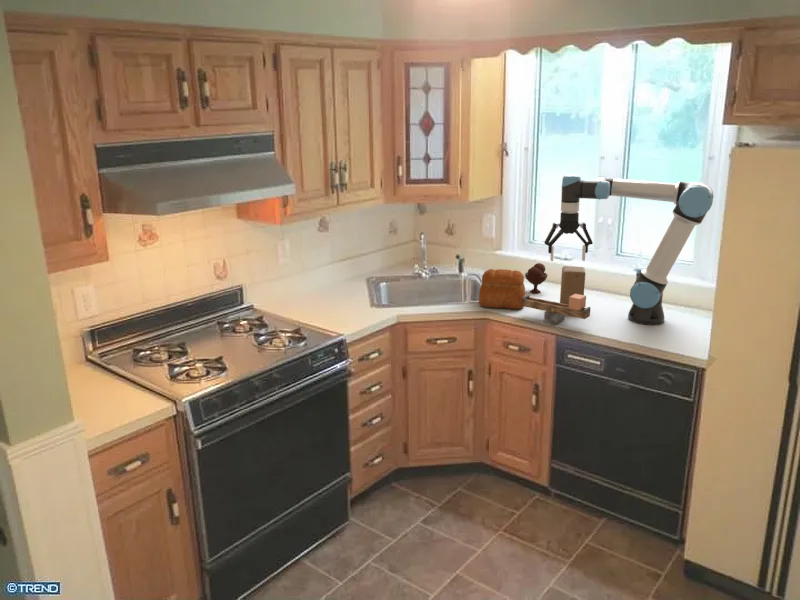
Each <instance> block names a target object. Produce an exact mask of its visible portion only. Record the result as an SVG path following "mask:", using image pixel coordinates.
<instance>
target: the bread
mask: <svg viewBox="0 0 800 600" xmlns="http://www.w3.org/2000/svg"><path fill="white" fill-rule="evenodd" d="M524 277H525V275H524V274H523V273H522V272H521V271H520V270H516V269H515V270H511V269H502V268H501V269H500V268H499V269H492V268H490V269H487V270H486V271H484V272H483V274H482V277H481V285H480V289H479V293H478V305H479V306H481V307H484V308H495V309H503V308H504V309H510V310H512V309H513V310H520V309H523V308H524V306H522V297H524V296H526V287H525V284H524V281H525V278H524Z"/></svg>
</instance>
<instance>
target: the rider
mask: <svg viewBox="0 0 800 600" xmlns="http://www.w3.org/2000/svg"><path fill="white" fill-rule="evenodd" d="M586 301H587V295H579V294H574V295H572V296H570V297H569V308H570V309H575V310H582V309H583V308H586V304H587V302H586Z"/></svg>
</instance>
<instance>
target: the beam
mask: <svg viewBox="0 0 800 600" xmlns="http://www.w3.org/2000/svg"><path fill="white" fill-rule="evenodd" d="M522 306H524V307H525V308H528V309H529V308H530V309H535V310H540V311H544V313H543V314H544V316H543V323H544V324H549V325H553V326H558V325H560V324H562V323H563V322H565V317H566V316H568V317H573V318H579V319H583V320H586V319H587V318H590V316H591V306H587V307H584V308H583V309H582V310H575V309H570V308H569V305H568V304H562V303H560V302H556V301H551V300H547V299H541V298H535V297H531V296H530V295H529V294H525V296H524V297H522ZM524 307H523V308H524Z"/></svg>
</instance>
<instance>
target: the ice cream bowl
mask: <svg viewBox="0 0 800 600" xmlns="http://www.w3.org/2000/svg"><path fill="white" fill-rule="evenodd" d="M524 277H525V279H526V281H528V282H529V283H530V284H532V285H533V288H532V289H531V290H529V293H530V294H536V295H538V294H541V290H539V289H538V285H541V284H542V283H544V282H545V281H546V280H547V279H548V273H546V266H545V265H544V264H543V263H540V262H538V263H535V264H534V265H533V266H531V267H530V268H529V269H528V270H527V272H525V273H524Z"/></svg>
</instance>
